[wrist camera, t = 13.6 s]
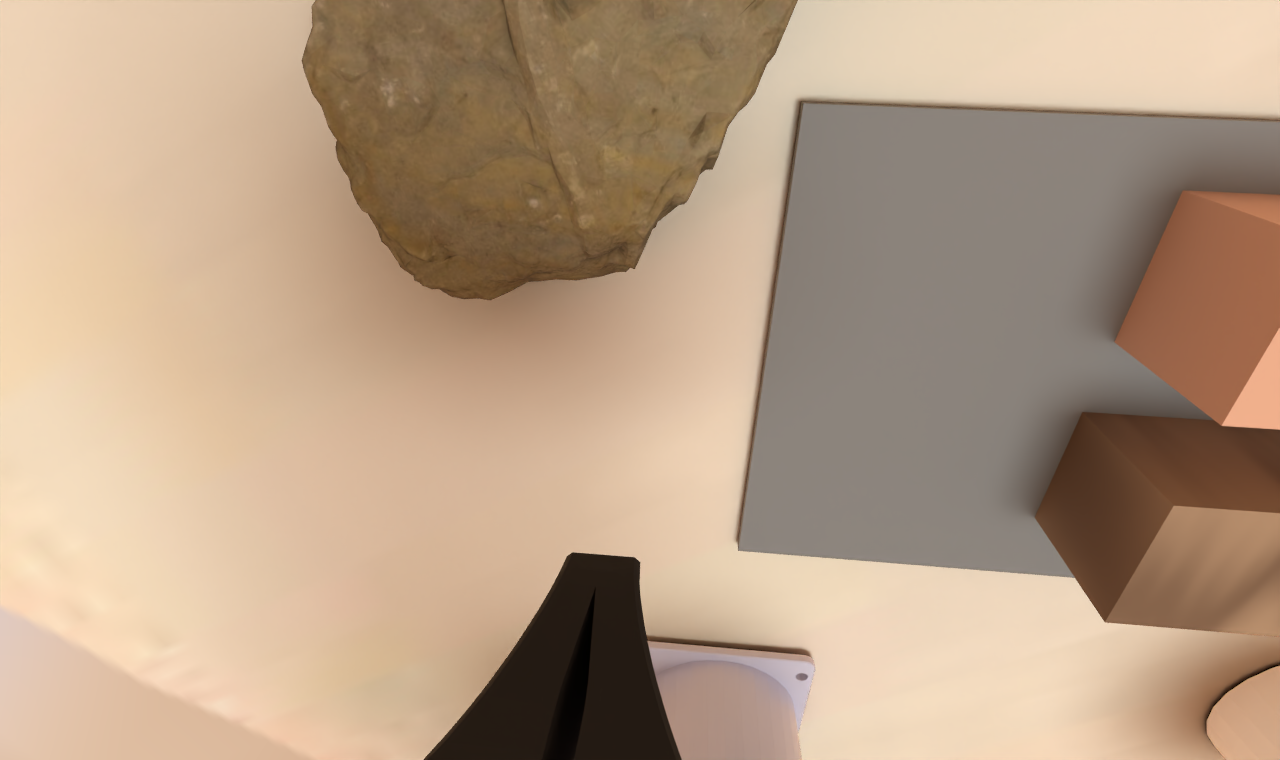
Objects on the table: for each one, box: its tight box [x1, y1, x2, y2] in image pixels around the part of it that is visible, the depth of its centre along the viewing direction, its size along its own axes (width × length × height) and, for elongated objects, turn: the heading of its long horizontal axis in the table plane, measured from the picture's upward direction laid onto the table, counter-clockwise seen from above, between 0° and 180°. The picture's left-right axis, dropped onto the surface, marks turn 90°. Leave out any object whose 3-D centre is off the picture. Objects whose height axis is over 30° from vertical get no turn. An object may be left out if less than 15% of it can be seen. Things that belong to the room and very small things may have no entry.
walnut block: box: [1035, 412, 1280, 637], centre depth 19 cm, size 4×4×8 cm
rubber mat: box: [738, 102, 1280, 578], centre depth 20 cm, size 16×20×1 cm
